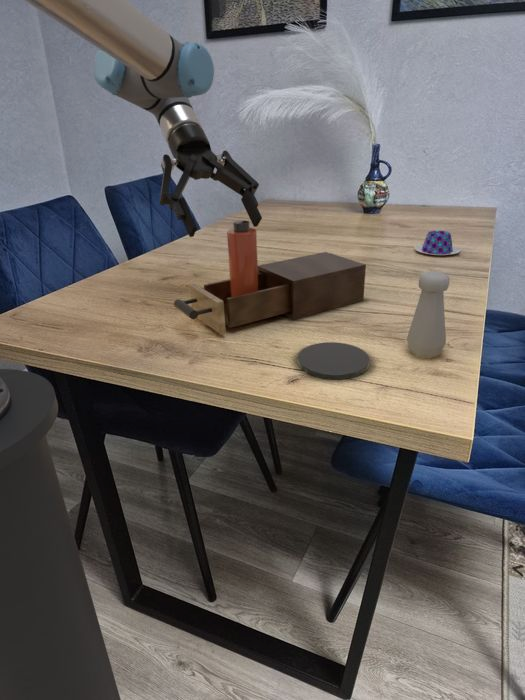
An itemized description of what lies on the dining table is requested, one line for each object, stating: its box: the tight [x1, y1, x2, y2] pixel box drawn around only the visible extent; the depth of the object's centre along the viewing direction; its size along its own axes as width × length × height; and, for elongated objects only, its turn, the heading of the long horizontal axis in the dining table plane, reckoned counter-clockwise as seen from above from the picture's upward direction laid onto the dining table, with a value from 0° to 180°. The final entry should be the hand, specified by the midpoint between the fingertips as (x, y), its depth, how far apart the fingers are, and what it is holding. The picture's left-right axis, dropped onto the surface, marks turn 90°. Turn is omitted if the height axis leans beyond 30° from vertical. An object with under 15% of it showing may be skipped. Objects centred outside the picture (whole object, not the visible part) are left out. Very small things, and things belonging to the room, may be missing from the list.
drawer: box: [173, 272, 291, 334], centre depth 87 cm, size 21×11×6 cm, turn 122°
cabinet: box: [258, 251, 367, 321], centre depth 96 cm, size 18×13×8 cm
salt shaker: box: [406, 270, 450, 360], centre depth 72 cm, size 6×6×13 cm
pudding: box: [413, 230, 461, 257], centre depth 128 cm, size 12×12×5 cm
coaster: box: [296, 341, 371, 380], centre depth 73 cm, size 11×11×1 cm
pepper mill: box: [226, 220, 259, 297], centre depth 86 cm, size 5×5×16 cm
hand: (227, 227), depth 87 cm, fingers open, 13 cm apart
